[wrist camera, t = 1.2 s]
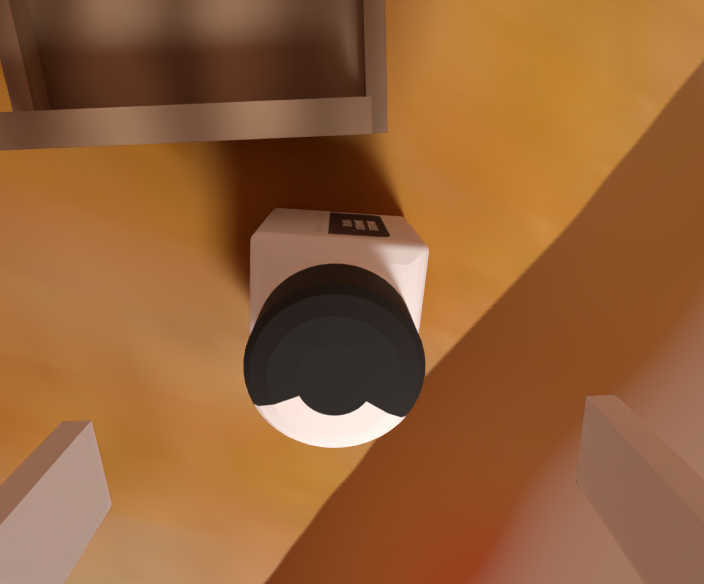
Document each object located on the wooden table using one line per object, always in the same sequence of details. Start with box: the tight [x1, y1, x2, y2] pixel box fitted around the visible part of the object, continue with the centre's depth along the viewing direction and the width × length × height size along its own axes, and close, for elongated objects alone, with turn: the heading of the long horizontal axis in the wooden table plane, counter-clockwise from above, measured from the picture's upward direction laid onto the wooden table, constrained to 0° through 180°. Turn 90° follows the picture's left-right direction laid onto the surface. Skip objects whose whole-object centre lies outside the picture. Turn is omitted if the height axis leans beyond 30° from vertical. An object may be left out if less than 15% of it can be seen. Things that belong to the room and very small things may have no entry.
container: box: [244, 208, 429, 448], centre depth 23 cm, size 8×8×13 cm
